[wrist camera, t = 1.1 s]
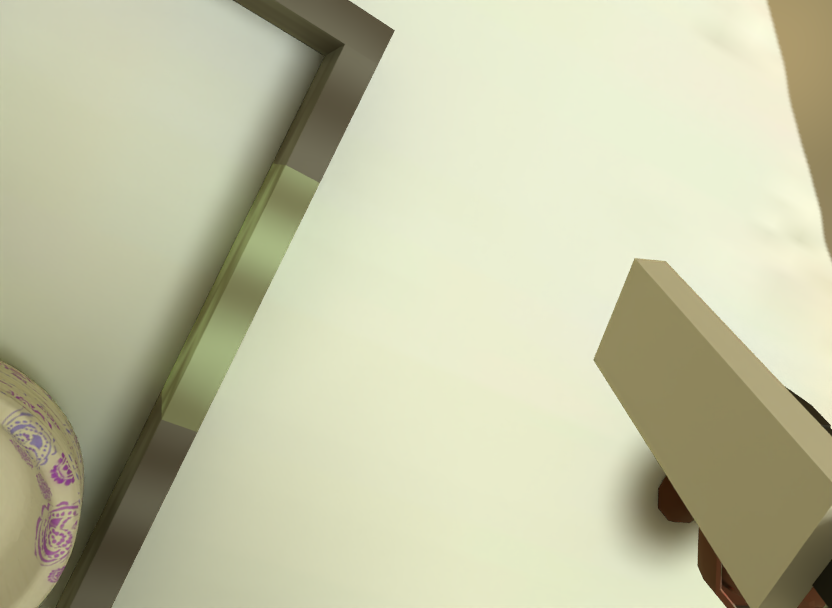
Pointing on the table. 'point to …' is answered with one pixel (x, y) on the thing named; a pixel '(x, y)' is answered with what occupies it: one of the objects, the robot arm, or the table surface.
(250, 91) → the table surface
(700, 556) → the ice cream bowl
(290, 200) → the shallow tray
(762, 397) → the robot arm
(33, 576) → the paper bowls
